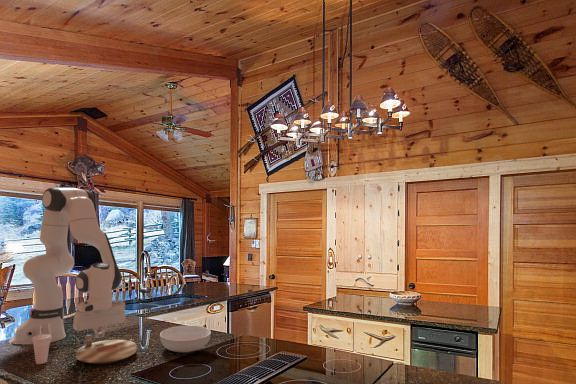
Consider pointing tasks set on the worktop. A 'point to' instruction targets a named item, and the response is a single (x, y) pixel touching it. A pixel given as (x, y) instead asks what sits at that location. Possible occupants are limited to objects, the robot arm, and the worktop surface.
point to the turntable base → (106, 362)
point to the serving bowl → (185, 338)
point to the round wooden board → (105, 350)
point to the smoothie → (41, 347)
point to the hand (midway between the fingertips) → (100, 337)
